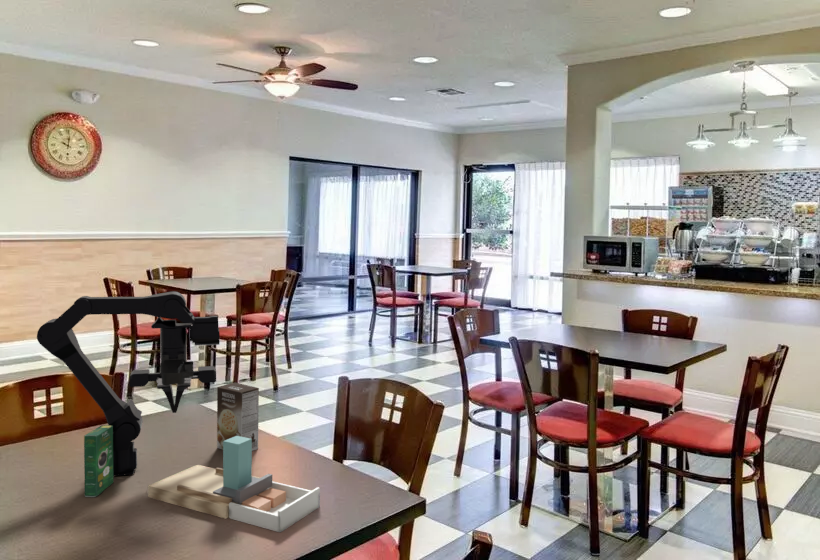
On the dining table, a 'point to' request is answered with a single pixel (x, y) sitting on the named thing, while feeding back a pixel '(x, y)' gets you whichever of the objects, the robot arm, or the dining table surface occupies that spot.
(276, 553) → the dining table surface
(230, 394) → the coffee box
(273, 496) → the tile
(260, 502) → the tile
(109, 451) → the coffee box
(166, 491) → the board
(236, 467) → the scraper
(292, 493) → the tray
